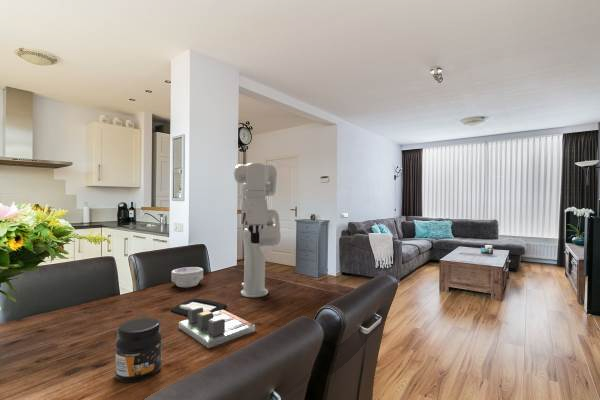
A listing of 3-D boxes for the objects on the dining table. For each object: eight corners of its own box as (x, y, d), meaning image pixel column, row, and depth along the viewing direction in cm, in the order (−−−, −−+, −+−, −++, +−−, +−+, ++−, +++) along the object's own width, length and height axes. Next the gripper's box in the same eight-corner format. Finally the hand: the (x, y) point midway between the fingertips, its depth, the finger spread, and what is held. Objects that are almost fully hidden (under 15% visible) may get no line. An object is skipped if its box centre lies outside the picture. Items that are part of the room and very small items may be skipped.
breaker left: (187, 320, 104) (188, 307, 104) (198, 317, 107) (198, 305, 107) (191, 322, 102) (192, 310, 102) (203, 319, 105) (203, 307, 105)
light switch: (166, 307, 118) (193, 294, 131) (166, 315, 119) (194, 301, 131) (204, 317, 110) (230, 301, 122) (205, 324, 110) (230, 308, 122)
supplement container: (111, 388, 70) (111, 336, 70) (117, 365, 80) (118, 320, 80) (161, 378, 74) (161, 329, 74) (162, 357, 84) (162, 314, 84)
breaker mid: (197, 326, 99) (197, 313, 99) (208, 323, 102) (208, 310, 102) (201, 329, 97) (202, 315, 97) (213, 325, 100) (213, 312, 100)
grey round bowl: (181, 280, 164) (181, 265, 164) (208, 281, 162) (208, 267, 162) (164, 288, 149) (165, 272, 149) (194, 290, 147) (194, 273, 147)
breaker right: (208, 333, 94) (208, 319, 94) (219, 329, 97) (219, 315, 97) (213, 336, 92) (213, 322, 92) (224, 332, 95) (225, 318, 95)
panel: (178, 327, 104) (178, 321, 104) (222, 314, 116) (223, 309, 116) (208, 348, 89) (208, 340, 89) (254, 331, 102) (255, 324, 102)
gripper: (264, 195, 125) (264, 240, 125) (233, 195, 115) (232, 243, 115) (276, 195, 120) (276, 242, 120) (245, 195, 110) (244, 246, 110)
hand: (255, 242), depth 117 cm, fingers closed
